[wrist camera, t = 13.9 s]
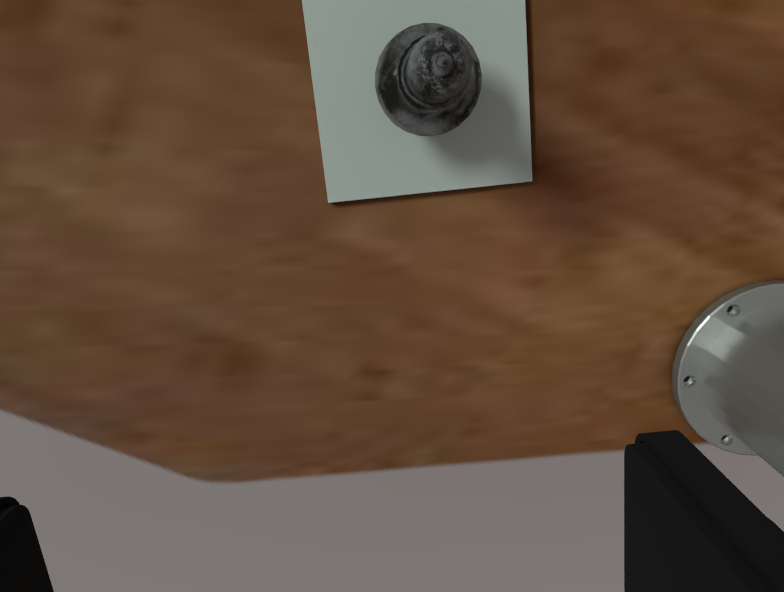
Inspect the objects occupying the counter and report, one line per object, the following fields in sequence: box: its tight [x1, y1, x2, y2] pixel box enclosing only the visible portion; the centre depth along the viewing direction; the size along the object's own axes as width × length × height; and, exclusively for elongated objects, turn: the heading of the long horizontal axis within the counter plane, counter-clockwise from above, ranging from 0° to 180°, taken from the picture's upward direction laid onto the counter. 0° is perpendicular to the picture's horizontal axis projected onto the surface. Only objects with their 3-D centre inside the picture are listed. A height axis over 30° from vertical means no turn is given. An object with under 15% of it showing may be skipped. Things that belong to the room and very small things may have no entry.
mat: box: [302, 0, 532, 203], centre depth 36 cm, size 13×13×1 cm
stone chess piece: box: [375, 23, 482, 136], centre depth 30 cm, size 6×6×12 cm
